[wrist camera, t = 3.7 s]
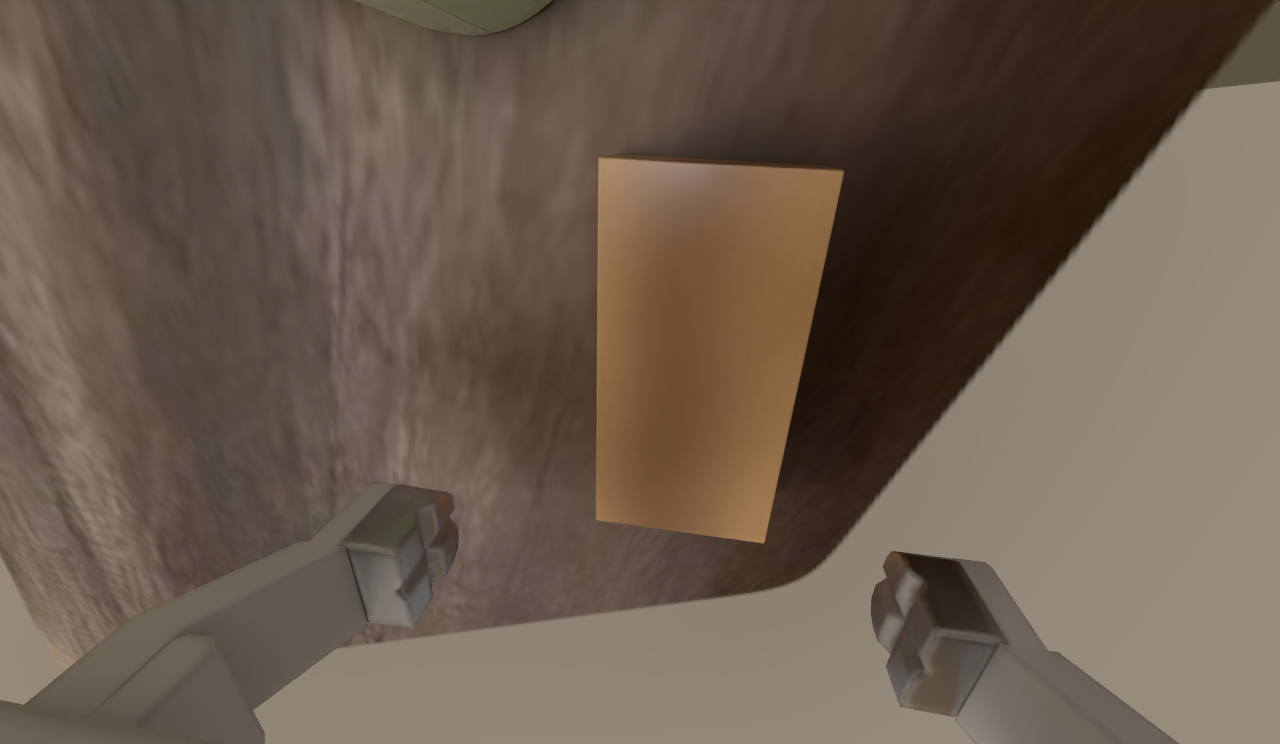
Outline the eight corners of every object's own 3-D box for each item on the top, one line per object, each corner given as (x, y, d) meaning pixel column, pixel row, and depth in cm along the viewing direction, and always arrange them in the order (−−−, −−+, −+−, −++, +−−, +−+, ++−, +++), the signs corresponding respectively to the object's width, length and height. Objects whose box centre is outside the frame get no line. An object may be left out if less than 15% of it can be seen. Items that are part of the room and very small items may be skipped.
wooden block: (822, 165, 15) (845, 170, 12) (758, 492, 21) (764, 544, 18) (618, 154, 16) (597, 156, 13) (610, 473, 21) (595, 520, 19)
